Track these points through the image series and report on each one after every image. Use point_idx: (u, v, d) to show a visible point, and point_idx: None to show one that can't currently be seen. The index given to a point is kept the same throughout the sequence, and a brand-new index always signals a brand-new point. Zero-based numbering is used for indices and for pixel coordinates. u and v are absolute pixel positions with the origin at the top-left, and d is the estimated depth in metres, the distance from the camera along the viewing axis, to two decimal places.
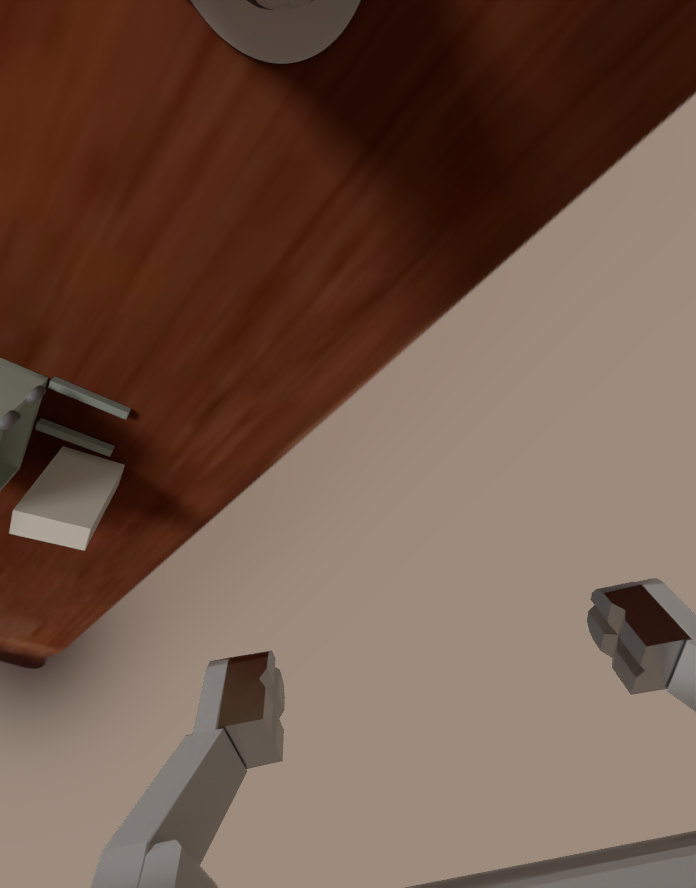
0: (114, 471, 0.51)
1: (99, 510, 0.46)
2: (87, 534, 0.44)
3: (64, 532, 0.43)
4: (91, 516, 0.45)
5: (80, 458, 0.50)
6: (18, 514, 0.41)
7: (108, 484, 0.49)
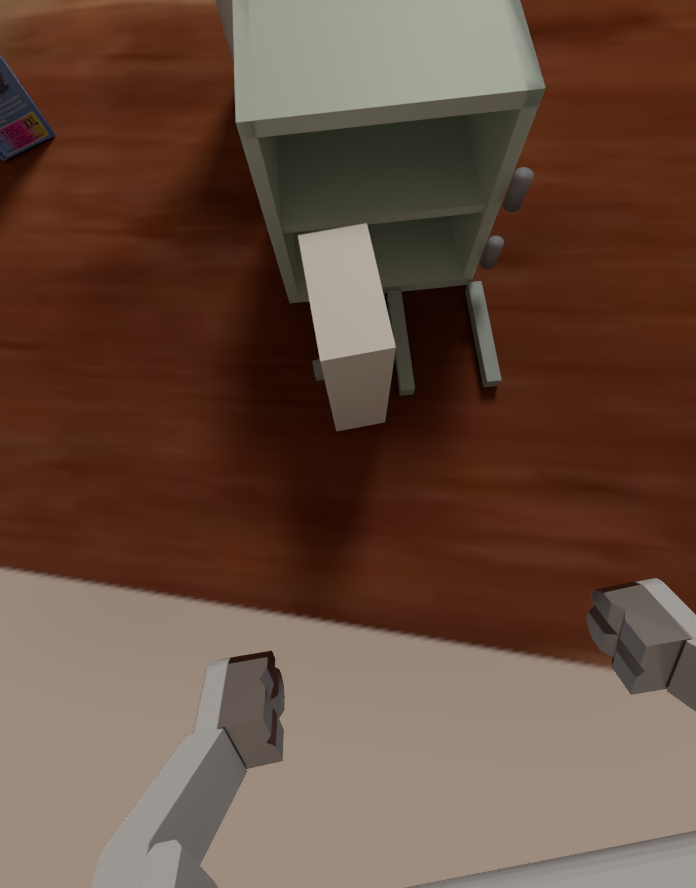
0: None
1: None
2: (374, 347, 0.19)
3: (355, 310, 0.20)
4: None
5: None
6: (359, 232, 0.21)
7: None
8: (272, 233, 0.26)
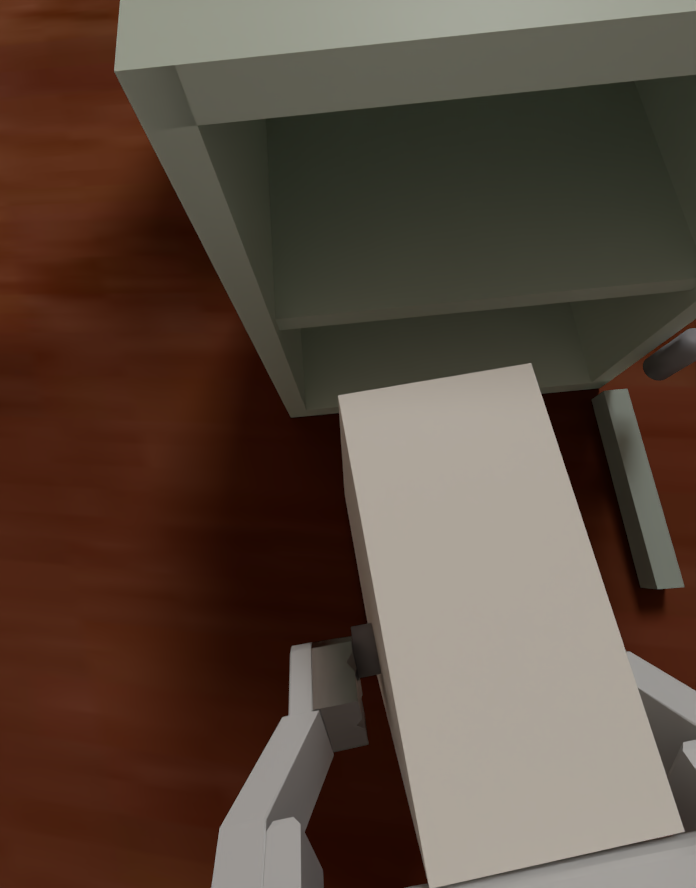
0: None
1: None
2: (610, 830, 0.06)
3: (529, 667, 0.06)
4: None
5: None
6: (514, 393, 0.07)
7: None
8: (256, 335, 0.12)
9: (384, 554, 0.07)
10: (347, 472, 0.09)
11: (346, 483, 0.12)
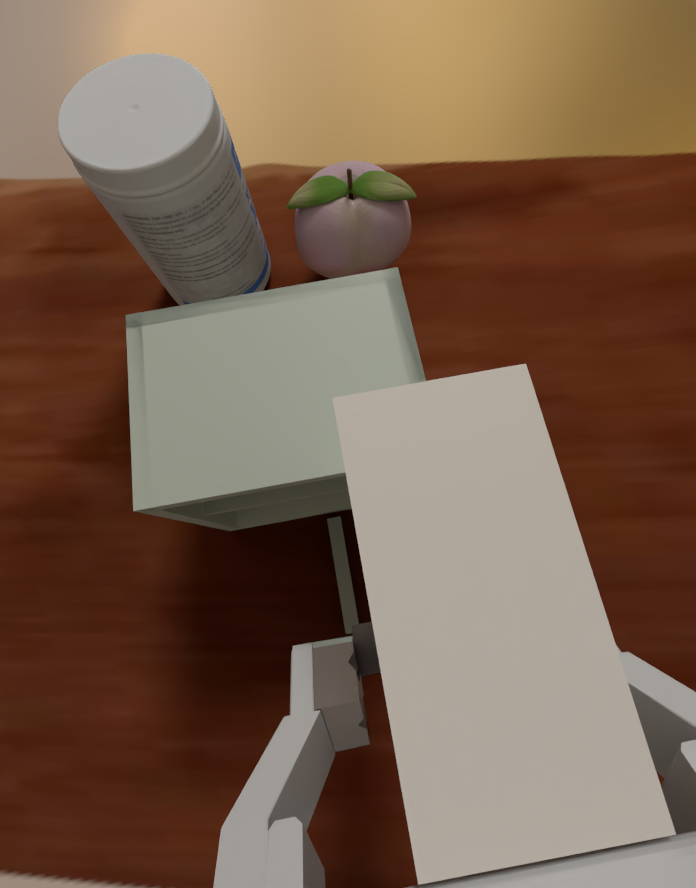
0: None
1: None
2: (601, 831, 0.06)
3: (520, 667, 0.06)
4: None
5: None
6: (509, 394, 0.07)
7: None
8: (196, 522, 0.25)
9: (377, 555, 0.07)
10: None
11: None
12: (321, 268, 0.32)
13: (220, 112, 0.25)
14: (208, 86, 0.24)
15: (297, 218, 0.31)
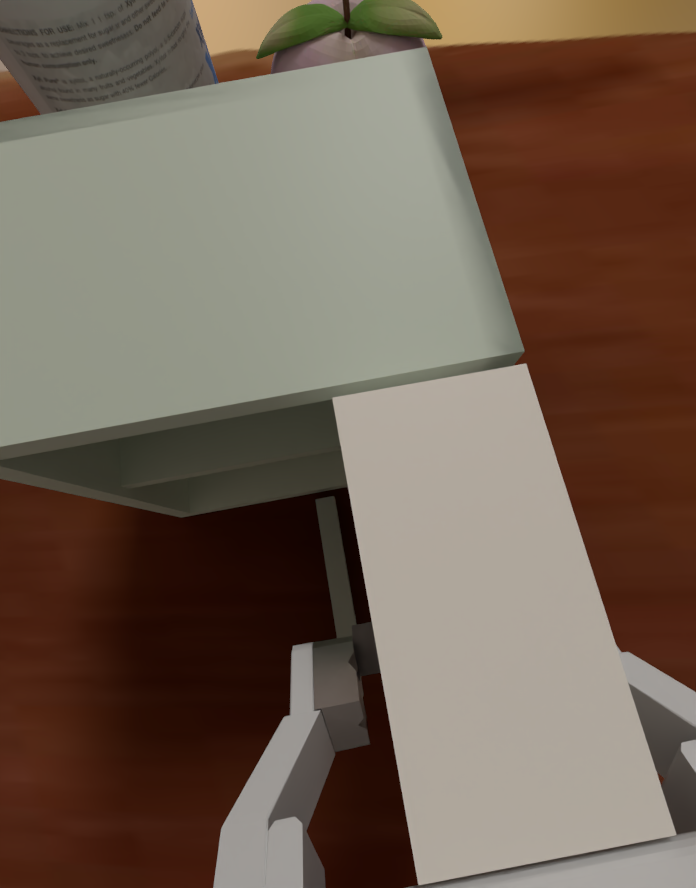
0: None
1: None
2: (601, 832, 0.06)
3: (520, 668, 0.06)
4: None
5: None
6: (509, 394, 0.07)
7: None
8: (107, 499, 0.16)
9: (377, 555, 0.07)
10: None
11: None
12: None
13: None
14: None
15: None
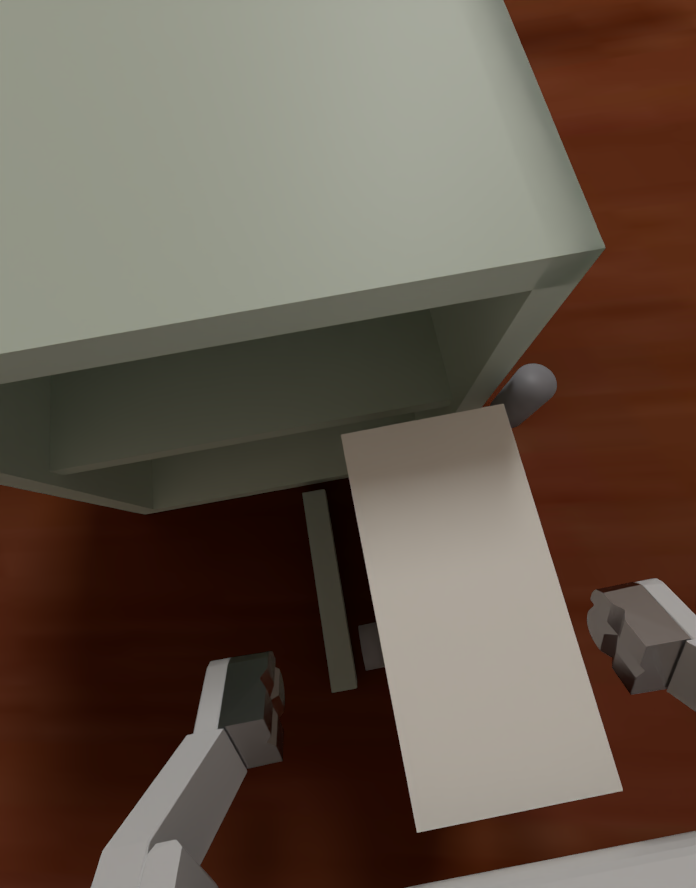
0: None
1: None
2: (563, 789, 0.07)
3: (498, 659, 0.08)
4: None
5: None
6: (489, 430, 0.09)
7: None
8: (31, 488, 0.13)
9: (380, 567, 0.08)
10: None
11: None
12: None
13: None
14: None
15: None
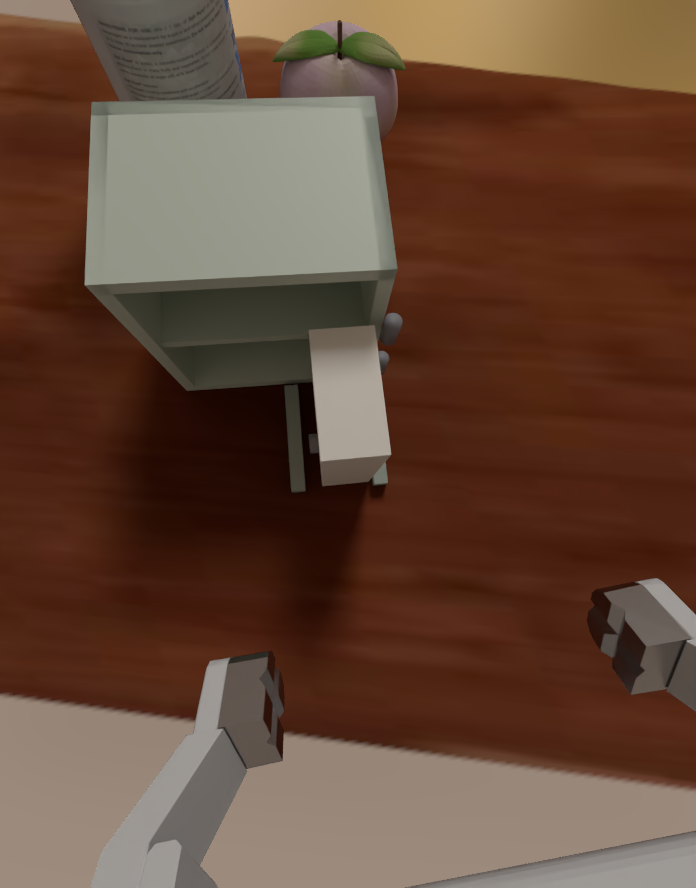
0: None
1: None
2: (371, 453, 0.21)
3: (357, 413, 0.21)
4: None
5: None
6: (367, 334, 0.22)
7: None
8: (151, 350, 0.25)
9: (318, 379, 0.21)
10: None
11: None
12: None
13: None
14: None
15: (283, 75, 0.30)
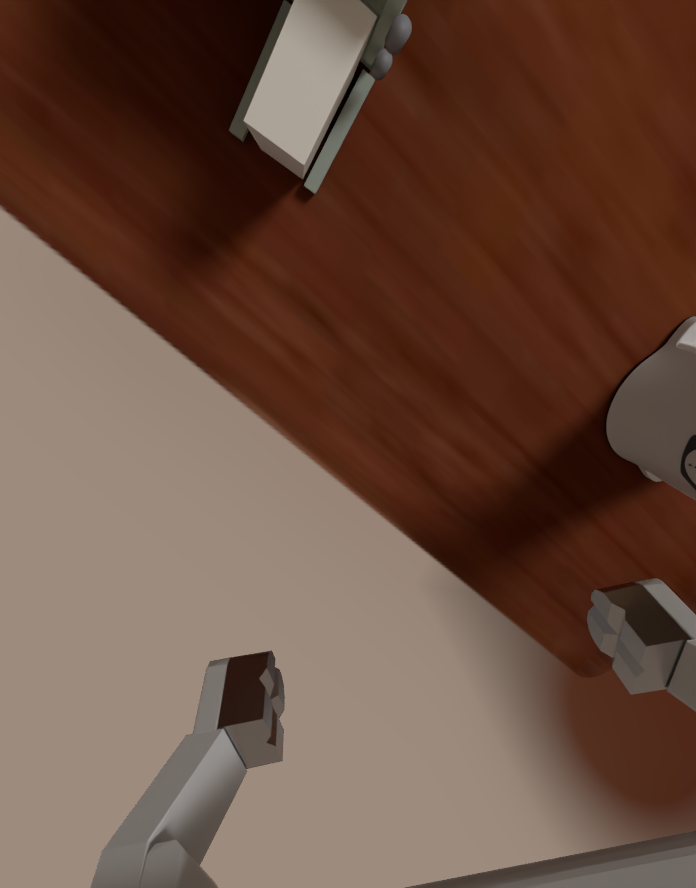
0: (307, 168, 0.30)
1: (304, 167, 0.25)
2: (289, 149, 0.22)
3: (301, 100, 0.21)
4: (308, 158, 0.24)
5: None
6: (363, 21, 0.20)
7: (307, 166, 0.28)
8: None
9: (288, 30, 0.20)
10: None
11: None
12: None
13: None
14: None
15: None
